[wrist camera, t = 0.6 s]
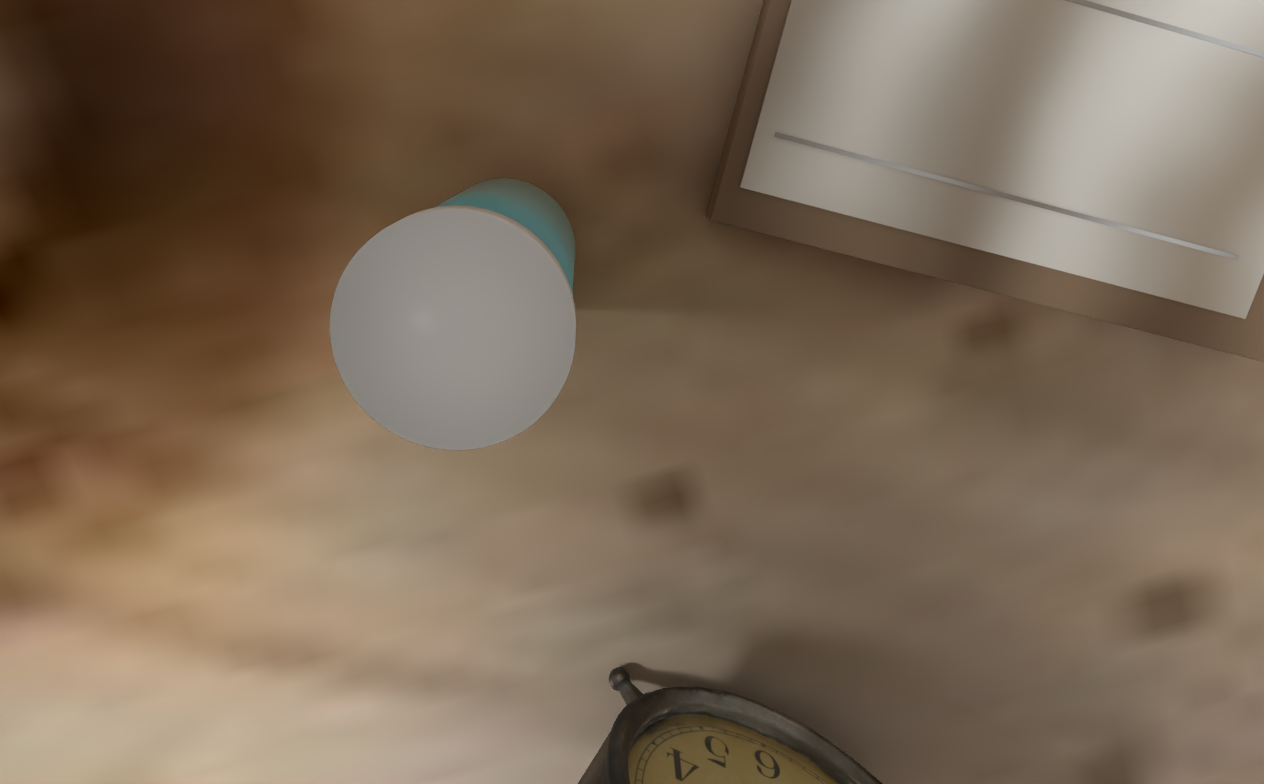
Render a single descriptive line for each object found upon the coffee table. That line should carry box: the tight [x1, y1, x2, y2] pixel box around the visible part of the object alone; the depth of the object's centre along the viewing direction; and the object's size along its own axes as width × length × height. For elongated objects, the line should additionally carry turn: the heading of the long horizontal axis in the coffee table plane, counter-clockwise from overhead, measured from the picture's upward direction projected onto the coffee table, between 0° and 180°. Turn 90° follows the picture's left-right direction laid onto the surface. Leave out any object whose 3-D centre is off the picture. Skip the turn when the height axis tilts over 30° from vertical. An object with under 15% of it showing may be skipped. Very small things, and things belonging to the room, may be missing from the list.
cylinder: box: [330, 178, 576, 450], centre depth 22 cm, size 4×4×12 cm
